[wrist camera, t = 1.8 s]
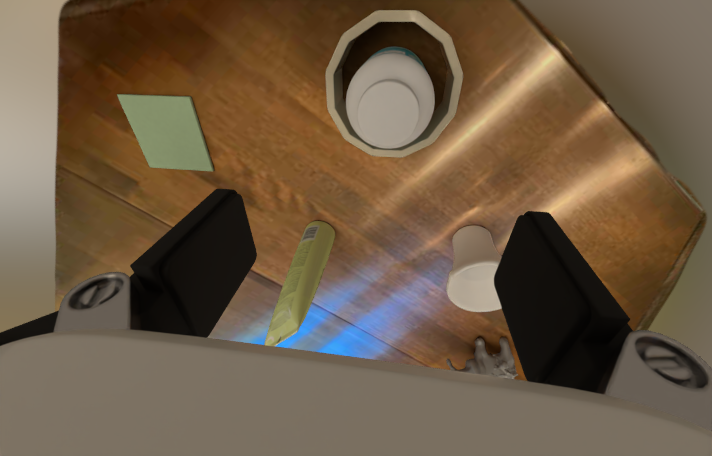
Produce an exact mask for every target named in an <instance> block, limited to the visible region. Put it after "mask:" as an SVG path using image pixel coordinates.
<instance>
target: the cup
mask: <svg viewBox="0 0 712 456" xmlns="http://www.w3.org/2000/svg"><path fill="white" fill-rule="evenodd" d="M452 244H453V250H454V264H453V267H452V271H450V272H449V279H448V281H447V287H446V290H447V293H448V296H449V299H450V300H451V301H452V302H453V303H454V304H455V305H457V306H458V307H460V308H462V309H465V310H468V311H474V312H489V311H494V310H498V309H501V308H502V307H501V304H500V301H499V298H498V295H497V292H496V289H495V286H494V275H495V273H496V270H497V268H498V265H499V263H500V260H501V258H502V256H501V255H500V254H499V253H498V251H497V249H496V248H495V246H494V243H493V240H492V236H491V234H490V232H489V231H488V230H487V229H485V228H483V227H480V226H477V225H470V226H466V227H463V228H461V229H459V230H458V231H457V232H456V233H455V234H454V235H453V239H452Z"/></svg>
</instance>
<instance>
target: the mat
mask: <svg viewBox="0 0 712 456" xmlns="http://www.w3.org/2000/svg"><path fill="white" fill-rule="evenodd" d="M117 96H118V98H119V101H120V103H121V105H122V107H123V109H124V112H125V114H126V116H127V118H128V120H129V123H130V125H131V127H132V129H133V131H134V133H135V136H136V138H137V140H138V142H139V144H140V147H141V149H142V151H143V153H144V155H145V157H146V160H147V162H148V164H149V166H150V167H153V168H169V169H185V170H200V171H214V168H213V165H212V161H211V158H210V155H209V152H208V149H207V146H206V142H205V139H204V136H203V133H202V130H201V127H200V123H199V120H198V117H197V114H196V111H195V108H194V105H193V101H192V98H191V97H190V96H161V95H131V94H118V95H117Z"/></svg>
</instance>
